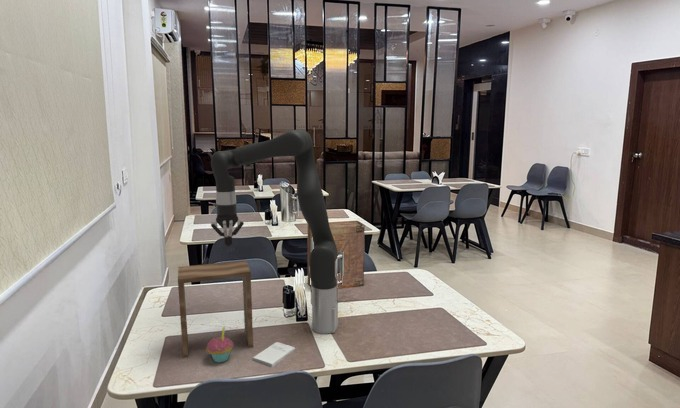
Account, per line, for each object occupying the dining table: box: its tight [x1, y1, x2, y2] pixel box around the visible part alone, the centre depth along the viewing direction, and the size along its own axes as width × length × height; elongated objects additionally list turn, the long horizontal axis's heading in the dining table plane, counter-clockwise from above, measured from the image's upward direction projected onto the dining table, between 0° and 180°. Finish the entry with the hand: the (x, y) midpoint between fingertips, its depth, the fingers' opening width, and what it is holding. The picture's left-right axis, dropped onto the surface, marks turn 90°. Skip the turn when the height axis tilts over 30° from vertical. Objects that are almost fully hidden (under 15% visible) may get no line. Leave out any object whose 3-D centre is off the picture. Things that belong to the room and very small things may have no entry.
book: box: [307, 220, 366, 290], centre depth 208 cm, size 25×9×30 cm, turn 108°
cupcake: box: [205, 327, 235, 363], centre depth 144 cm, size 9×8×12 cm
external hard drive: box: [251, 341, 296, 368], centre depth 148 cm, size 2×8×12 cm
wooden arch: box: [177, 260, 254, 359], centre depth 152 cm, size 13×23×28 cm, turn 109°
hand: (228, 245), depth 174 cm, fingers closed
